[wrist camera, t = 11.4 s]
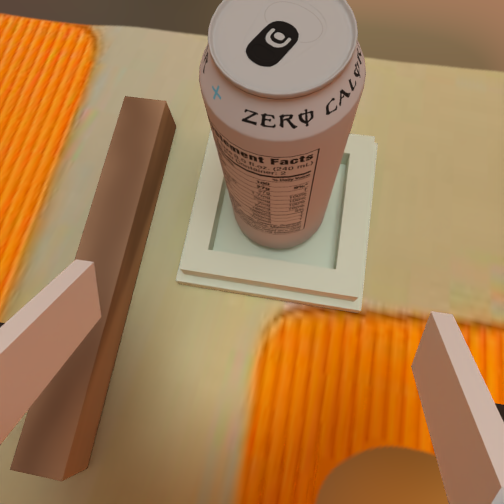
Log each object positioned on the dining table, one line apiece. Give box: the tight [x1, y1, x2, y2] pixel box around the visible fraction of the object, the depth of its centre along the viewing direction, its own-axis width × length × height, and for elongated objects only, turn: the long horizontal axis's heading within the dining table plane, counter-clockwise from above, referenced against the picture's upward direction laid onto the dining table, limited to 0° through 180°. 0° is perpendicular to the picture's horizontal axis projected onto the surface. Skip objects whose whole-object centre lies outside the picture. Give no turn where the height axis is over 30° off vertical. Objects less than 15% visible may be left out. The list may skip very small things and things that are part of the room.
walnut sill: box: [10, 96, 176, 481], centre depth 26 cm, size 3×24×3 cm, turn 170°
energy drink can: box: [199, 0, 366, 249], centre depth 20 cm, size 6×6×15 cm
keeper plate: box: [176, 130, 378, 313], centre depth 27 cm, size 12×12×2 cm
